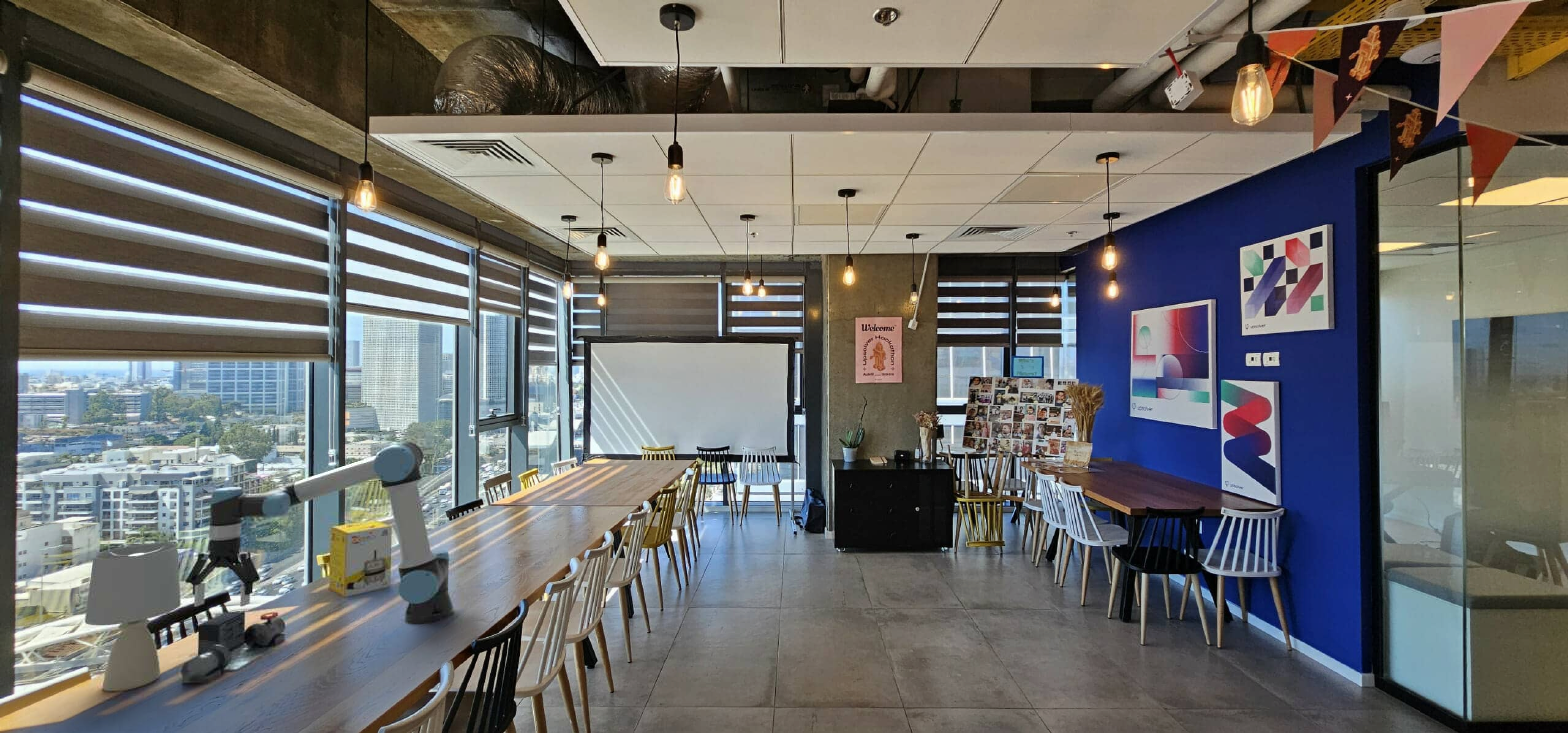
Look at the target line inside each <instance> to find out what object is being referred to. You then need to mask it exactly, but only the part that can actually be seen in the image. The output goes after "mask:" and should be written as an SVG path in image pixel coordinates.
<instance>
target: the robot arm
mask: <svg viewBox="0 0 1568 733" xmlns="http://www.w3.org/2000/svg"><path fill="white" fill-rule="evenodd" d="M423 462H424V453H423V451H422V449H421V447H420V446H419V445H417V444H416V443H414V442H411V441H400V442H397V443H394V444H391V445H388V446H386V447H384V448H383V449H381V450H380V451H378V452H377V454H375V456H371V457H368V458H365V459H362V460H359V461H356V462H353V463H349V464H347V465H344V466H341V467H338V468H334V469H332V470H331V469H330V470H328V471H326V472H322V473H319V474H316V475H313V476H309V477H306V478H304V479H301V480H298V481H295V482H291V483H289V484H284V485H281V486H278V487H276V488H273V489H271V490H269V491H266V492H262V493H258V492H257V493H245V492H244V489H243V487H240V486H228V487H227V486H226V487H221V488H220V487H219V488H216V489H214V490H213V491H212V492H211V499H210V504H209V505H210V508H209V510H210V514H209V515H210V516H209V532H208V533H209V534H208V538H209V540H208V551H207V550H206V551H203V552H200V553H198V555H197V560H196V562H195V563H194V566H193V567H192V568H191V570H190V572H189V574H188V576H187V578H186V579H185V583H187V584H189V583H190V584H191V585H192V596H194V602H193V604H194V605H193V607H199V606H202V605H204V604H205V592H206V583H205V582H204V580H205V579H206V578H207V577H208V576H210V574H211V573H212V572H213V571H214V570H215V569H216V568H217V569H218V568H223V569H225V568H228V569H229V570H231V571H233V573H234V574H235V575H236V576H237V578H238V579H239V580H240V581H241V582H242V583H243V584H242V585H240V601H239V602H240V605H239V606H240V607H245V606H247V605H249V604H250V603H251V602H250V601H251V600H250V599H251V594H252V593H253V588H254V587H253V585H254V583H257V582H259V581H260V580H261V577H260V575H259V572H258V571H257V569H256V566H255V565H254V562H253V561H252V558H251V557H252V556H251V552H250V551H245V552H241V553H240V548H241V542H242V537H241V536H240V535H241V534H242V522H243V521H242V520H243V519H245V518H274V517H282V516H285V515H286V514H287V513H288V512H289V510H290V507H294V506H297V505H300V504H302V503H305V502H308V501H311V500H314V499H317V498H320V497H324V496H326V495H329V494H333V493H336V492H338V491H342V490H344V489H347V488H351V487H354V486H357V485H360V484H362V483H365V482H368V481H371V480H374V479H377V478H379V480H380V484H381V488H382V489H383V490H385V491H387V492H388V495H389V501H390V506H391V511H392V516H393V521H394V526H395V532H396V536H397V542H398V546H399V552H400V556H401V561H400V562H399V564H398V565H397V566H398V567H397V569H398V573H399V574H398V575H399V578H400V580H399V582H398V591H397V592H398V593H399V596H400V597H401V598H402V600H403V601H405V602H407V603H408V605H407V608H406V610H405V614H404V620H405V622H407V623H410V624H429V623H435V622H438V621H441V620H444V619H446V618H448V617H450V616H451V615H452V614H453V613H454V605H453V602H452V600H451V596H450V593H449V574H450V573H449V571H450V570H449V568H450V567H449V566H450V564H449V563H450V555H449V552H448V551H446V550H431V548H430V542H429V541H430V540H429V536H428V532H427V527H426V521H425V516H424V511H423V507H422V506H423V505H422V503H421V502H422V500H421V497H420V491H419V486H418V485H419V484H420V481H422V475H421V469H420V467H421V466H422V463H423ZM208 560H209V561H210V562H208ZM207 562H208V563H207ZM206 563H207V565H206ZM205 565H206V566H205ZM204 567H205V568H204ZM203 568H204V569H203Z"/></svg>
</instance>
